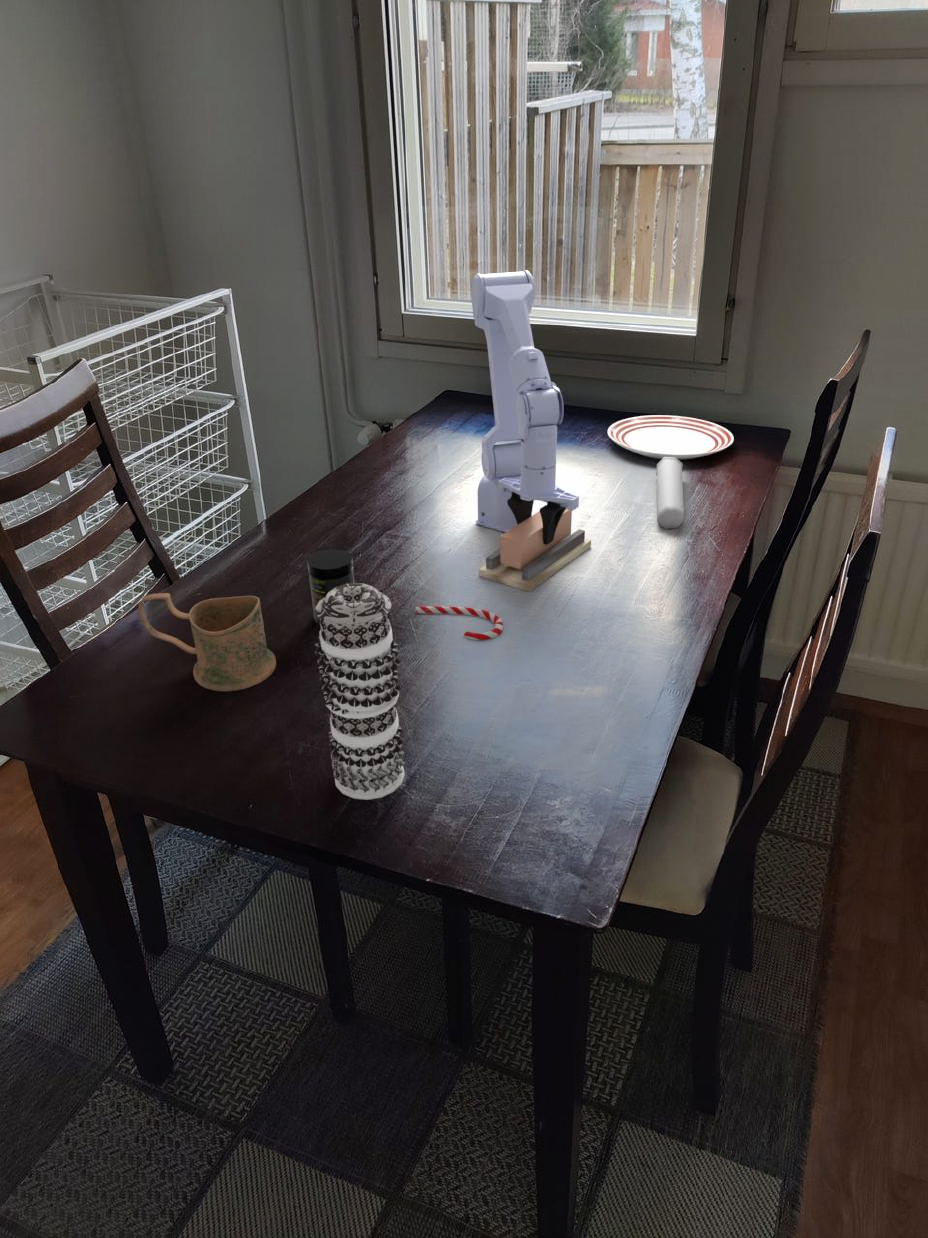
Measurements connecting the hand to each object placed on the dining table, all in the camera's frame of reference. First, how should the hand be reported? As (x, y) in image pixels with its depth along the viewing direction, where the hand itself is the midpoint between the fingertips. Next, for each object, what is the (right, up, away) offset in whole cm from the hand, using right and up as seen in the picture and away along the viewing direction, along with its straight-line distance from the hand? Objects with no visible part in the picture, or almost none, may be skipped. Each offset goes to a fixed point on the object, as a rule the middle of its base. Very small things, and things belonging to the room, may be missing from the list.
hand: (536, 538), depth 156 cm
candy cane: (-13, -15, -15) cm, 24 cm away
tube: (+27, +8, +22) cm, 36 cm away
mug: (-48, -21, -24) cm, 58 cm away
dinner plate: (+33, +25, +49) cm, 64 cm away
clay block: (0, -2, +1) cm, 2 cm away
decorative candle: (-24, -33, -46) cm, 61 cm away
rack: (0, -4, +2) cm, 4 cm away
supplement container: (-32, -14, -13) cm, 37 cm away
